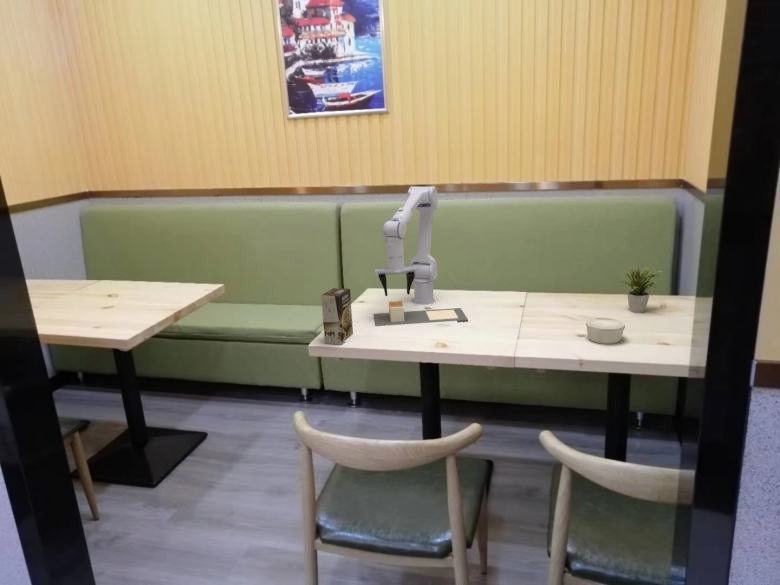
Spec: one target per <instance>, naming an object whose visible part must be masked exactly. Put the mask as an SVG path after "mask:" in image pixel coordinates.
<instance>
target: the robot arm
mask: <svg viewBox="0 0 780 585" xmlns="http://www.w3.org/2000/svg"><path fill="white" fill-rule="evenodd" d="M438 198H439V193H438V190H437V188H436V187H435V186H434V185H432V186H413V185H411V186H410V187H409V189H408V190H407V199H406V201H405V203H404V205H403V206H402V207H399V208H398V209H397V211H396V212H395V213H394V215H393V216H392V218H391V219H390V220H387V221H386V222H385V223H384V224H383V226H382V235H383V237H384V242H385V244H386V257H387V260H386V261H387V267H385V268H384V267H383V268H375V269H374V276H375V277H378V279H379V282H380V283H381V285H382V287H383V290H384V296H385V297H388V286H387V284H388V283H387V276H390V275H404V274H405V276H406V277H405V278H406V294H407V295H411V294H410V293H411V287H412V284H413V287H414V288H413V291H414V298H412V302H413V304H414V306H428V305H436V304H437V303H436V301H435V298H434V281H435V280H436V279H437V277H438V274H439V273H438V272H439V271H438V270H439V269H438V261H437V260H436V259H435V258H434V257H433V256H432V255H431V252H432V251H431V250H432V235H433V220H434V211H436V210H437V209H438ZM415 210H417V211H418V212H419V219H418V220H419V222H418V236H417V251H416V252H417V253H416V255H414V256H413V257H412V258H410V262H409V263H410V265H409V266H405V253H404V252H405V251H404V250H405V249H404V238H405V236H406V234H407V229H408V225H409V224H410V222H411V220H412V219H413V212H414V211H415Z"/></svg>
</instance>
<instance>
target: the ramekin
mask: <svg viewBox="0 0 780 585" xmlns="http://www.w3.org/2000/svg"><path fill="white" fill-rule="evenodd" d="M585 326H586V334H587V338H588V339H589V341H592V342H594V343H596V344H601V345H602V344H603V345H612V344H613V345H614V344H617V343H619V342H620V341H621V340H622V338H623V335H624V330H625V328H626V324H625V322H624V321H622V320H620V319H616V318H611V317H593V318H590V319H587V320H586V321H585Z"/></svg>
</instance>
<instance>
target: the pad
mask: <svg viewBox="0 0 780 585" xmlns="http://www.w3.org/2000/svg"><path fill="white" fill-rule="evenodd" d="M426 313H427V315H428V318H429V320H430V321H431V320H445V319H458V316H457V315H456V313H455V311H454V310H440V311H426Z"/></svg>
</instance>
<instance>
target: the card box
mask: <svg viewBox="0 0 780 585" xmlns="http://www.w3.org/2000/svg"><path fill="white" fill-rule="evenodd" d="M388 309H389V310H388V313H389V315H390V320H391V322H402V321H404V312H405V307H404V304H403V301H402V300H399V301H397V300H395V301H388Z"/></svg>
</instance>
